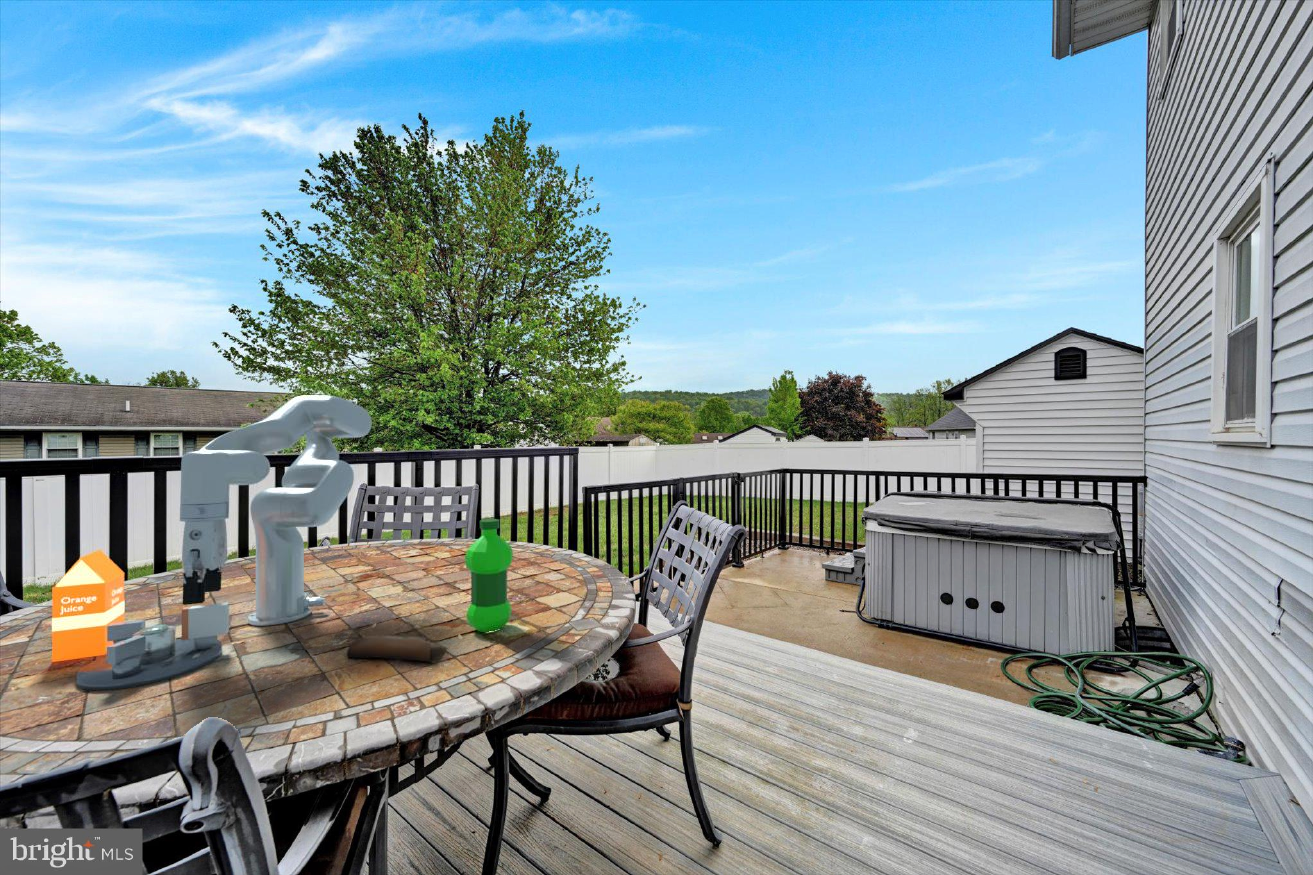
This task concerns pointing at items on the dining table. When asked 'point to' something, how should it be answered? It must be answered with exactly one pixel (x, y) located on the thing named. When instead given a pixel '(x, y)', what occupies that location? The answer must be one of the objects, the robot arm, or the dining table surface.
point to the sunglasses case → (395, 648)
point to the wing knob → (205, 623)
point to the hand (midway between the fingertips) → (202, 597)
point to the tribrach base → (149, 671)
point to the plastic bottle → (489, 579)
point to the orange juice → (86, 607)
